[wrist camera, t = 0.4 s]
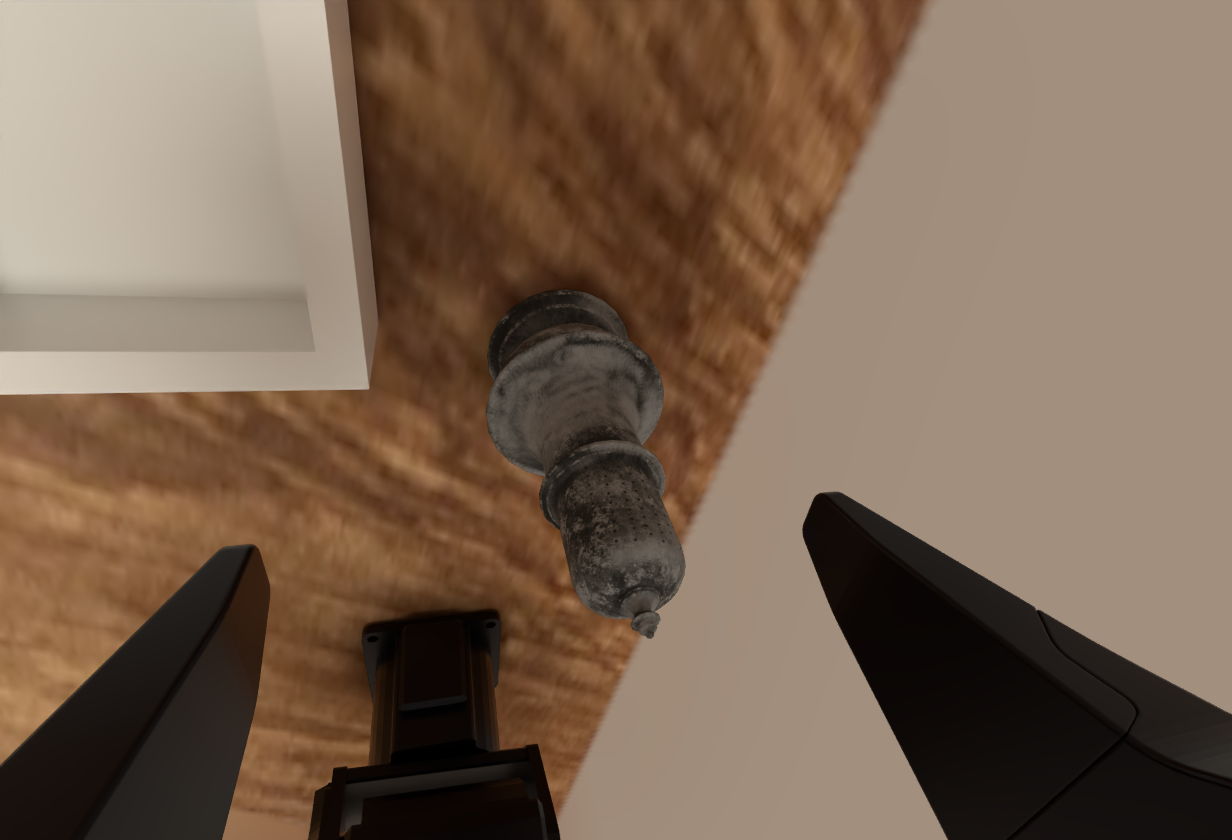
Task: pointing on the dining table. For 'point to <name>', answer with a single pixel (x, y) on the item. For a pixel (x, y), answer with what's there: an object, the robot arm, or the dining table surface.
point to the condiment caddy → (182, 198)
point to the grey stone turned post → (588, 447)
